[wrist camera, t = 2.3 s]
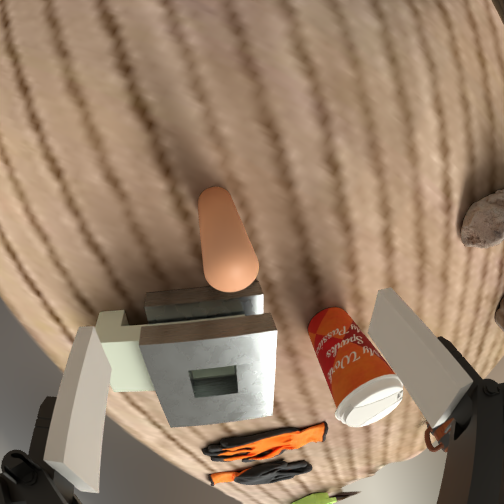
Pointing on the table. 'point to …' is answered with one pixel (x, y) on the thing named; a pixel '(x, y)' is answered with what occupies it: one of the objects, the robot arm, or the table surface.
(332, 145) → the table surface
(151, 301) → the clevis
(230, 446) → the pair of gloves
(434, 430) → the mug
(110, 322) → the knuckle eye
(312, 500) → the gearbox
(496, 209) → the pumice stone
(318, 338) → the paper cup
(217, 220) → the pin
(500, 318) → the plant pot
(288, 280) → the table surface
